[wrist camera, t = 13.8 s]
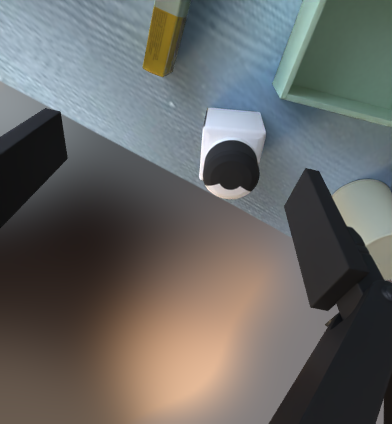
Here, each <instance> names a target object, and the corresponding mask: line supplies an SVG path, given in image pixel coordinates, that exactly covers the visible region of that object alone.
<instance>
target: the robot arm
mask: <svg viewBox="0 0 392 424" xmlns="http://www.w3.org/2000/svg"><path fill="white" fill-rule="evenodd" d="M66 160H67V151H66V145H65V138H64V131H63V125H62V118H61V112H60V111H55V110H51V109H47V108H45V109H43V110H42V111H40V112H39V113H37V114H35V115H34V116H32V117H31V118H29V119H28V120H26V121H25V122H23V123H21V124H20V125H18V126H17V127H15V128H13V129H12V130H10V131H9V132H7V133H6V134H4V135H3V136H1V137H0V228H1V227H2V226H3V225H4V224H5V223H6V222H7V221H8V220H9V219H10V218H11V217H12V216H13V215H14V214H15V213H16V212H17V211H18V210H19V209H20V207H21V206H22V205H23V204H24V203H25V202H26V201H27V200H28V199H29V198H30V197H31V196H32V195H33V194H34V193H35V192H36V191H37V190H38V189H39V188H40V186H42V185H43V184H44V183H45V182H46V181H47V179H48V178H49V177H50V176H51V175H52V174H53V173H54V172H55V171H56V170H57V169H58V168H59V167H60V166H61V165H62V164H63V163H64V162H65V161H66ZM284 208H285V212H286V215H287V219H288V223H289V227H290V231H291V235H292V238H293V242H294V246H295V249H296V254H297V258H298V261H299V265H300V269H301V273H302V277H303V281H304V284H305V288H306V292H307V296H308V300H309V304H310V307H311V308H316V309H321V310H326V311H328V310H330V309H331V308H332V307H333V306H334V305H335V304H337V306H338V309H339V313H338V314H337V315H335V316H334V317H333V318H332V319H331V320H330V321H329V322H327V323H326V324H325V325H326V326H327V327H328V328H327V329H326V332H325V333H324V335H323V336H322V338H321V339H320V341H319V343H318V344H317V346H316V348H315V349H314V351H313V352H312V354H311V356H310V357H309V359H308V360H307V362H306V364H305V365H304V367H303V369H302V370H301V372H300V374H299V375H298V377H297V378H296V380H295V382H294V383H293V385H292V387H291V388H290V390H289V391H288V393H287V395H286V396H285V398H284V400H283V401H282V403H281V404H280V406H279V408H278V409H277V411H276V413H275V414H274V416H273V417H272V419H271V421H270V422H269V424H376V421H377V417H378V414H379V411H380V408H381V405H382V401H383V399H384V424H392V283H391V282H389V281H385V280H384V278H383V276H382V274H381V273H380V271H379V269H378V267H377V265H376V263H375V261H374V260H373V258H372V256H371V255H370V254H369V253H370V252H369V250H368V249H367V247H365V246H366V245H365V243H364V241H363V239H362V238H361V236H360V235H359V234H358V233H357V232H356V231H355V230H354V229H353V228H352V227H349V226H347V225H346V223H345V221H344V220H343V218H342V216H341V214H340V212H339V210H338V208H337V206H336V204H335V202H334V200H333V198H332V196H331V194H330V192H329V190H328V188H327V186H326V184H325V182H324V180H323V178H322V176H321V174H320V172H319V171H316V170H312V169H308V168H305V170H304V172H303V173H302V175H301V177H300V179H299V181H298V182H297V184H296V186H295V188H294V190H293V191H292V193H291V195H290V197H289V198H288V200H287V202H286V204H285V206H284Z"/></svg>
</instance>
